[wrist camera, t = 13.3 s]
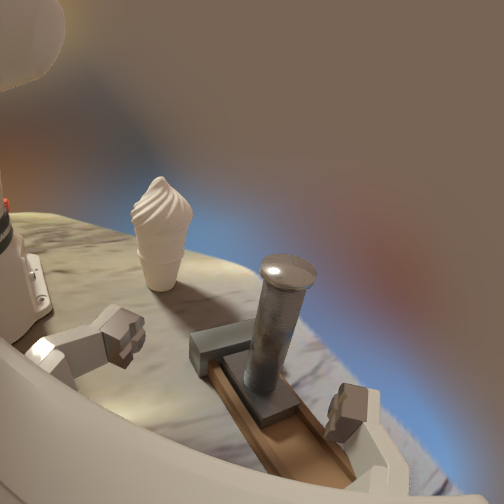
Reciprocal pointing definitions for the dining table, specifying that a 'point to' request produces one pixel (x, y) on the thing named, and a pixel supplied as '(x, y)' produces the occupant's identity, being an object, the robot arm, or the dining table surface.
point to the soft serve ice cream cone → (161, 233)
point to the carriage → (271, 341)
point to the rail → (280, 433)
